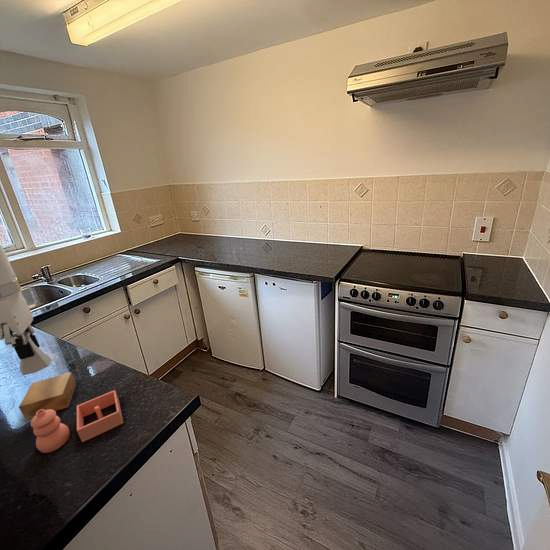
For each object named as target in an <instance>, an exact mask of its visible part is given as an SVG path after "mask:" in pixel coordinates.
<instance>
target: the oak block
mask: <svg viewBox="0 0 550 550" xmlns="http://www.w3.org/2000/svg"><path fill="white" fill-rule="evenodd" d="M76 387H77V381H76V380H75V377H74V374H73V373H72V372H71V371H70V372H67V373H64V374H59V375H56V376H53V377H49V378H45V379H41V380H39V381H35V382H31V384H30V386H29V388H28V390H27V392H26V393H25V395H24V397H23V399H22V400H21V402H20V404H19V405H18V409H19V410H20V412H21V414H22V416H23V418H24V420H25V421H28V420H32V419H33V418H34V416H36V412H37V411H39V410H40V409H44V410H49V409H52V410H54V411H55V412H57V411H60V410H63V409H66V408H69V406H70V404H71V401H72V398H73V396H74V392H75V389H76Z"/></svg>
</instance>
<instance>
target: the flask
mask: <svg viewBox="0 0 550 550" xmlns="http://www.w3.org/2000/svg"><path fill="white" fill-rule="evenodd" d="M24 336H25V338H26V341H27V342H29V343H30V345H31V347H32V349H33V351H34V354H35V355H34V356H32V357H29V358H25V359H19V360H20V362H19V372H20V373H21V375H22V376H25V375H26V376H27V375H31V374H35V373H37V372H40V371H42V370H44V369H46V368H48V367H49V366H50V365H51V364H52V362H53V359H52V358H51V357H50V356H49V355H48V354H47V353H46V352H44V351H43V350H42V349H40V347H39V348H38V347H37V346H36V345H35V344H34V342H33V341H32V340H31V338H30V333H29V332H24ZM17 338H19V339H20V336H19V337H15V338H14V339H17Z"/></svg>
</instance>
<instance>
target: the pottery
mask: <svg viewBox="0 0 550 550" xmlns="http://www.w3.org/2000/svg"><path fill="white" fill-rule="evenodd" d="M113 405H115V408H116V411H114V412H113V413H111V414H107V415H106V416H104V415H103V413H102V410H103V409H105V408H108V407H110V406H113ZM94 413H95V414H96V416H97V420H94V421H92V422H90V423H88V424H86V425H84V423H85V422H84V420H85V419H84V417H87V416H90V415H91V414H94ZM122 424H124V419H123V414H122V409H121V403H120V400H119V397H118V395H117V391H116V389H113V390H111V391H109V392H107V393H104V394H102V395H100V396H96V397H95V398H92V399H90V400H87V401H85V402H83V403H80V404H78V405H76V433H77V434H78V436H79V439H80V441H81V443H84V442H86V441H88V440H90V439H92V438H95V437H97V436H99V435H101V434H103V433H106V432H108V431H110V430H112V429H114V428H116V427H118V426H121V425H122ZM30 427H31V428H32V429H33V430H32V432H33V435H34V436H35V437H36V439H35V446H36V447H35V448H36V449H37V451H39V452H40V453H42V454H48V453H52V452H54V451H56V450H58V449H60V448H61V447H62V446H63V445H65V444H66V442H67V441H69V438H70V434H71V433H70V429H69V427H68V426H67V424H65V423H61V418H60V416H58V415H57V411H54V410H52V409H49V410H44V409H40V410H39V411H37V412H36V416H34V418H31V419H30Z"/></svg>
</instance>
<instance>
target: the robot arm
mask: <svg viewBox="0 0 550 550" xmlns="http://www.w3.org/2000/svg"><path fill="white" fill-rule="evenodd" d="M14 271H15V270H14V269H13V267H12V265H11V262H10V260H9V258H8V255H7V254H6V251H5V249H4V247H3V245H2V243H1V242H0V341H2V340H4V343H5V345H6V346H11V347H12V348H13V349H14V351H15V353H16V355H17V357H18V359H19V360H20V359H25V358H29V357H32V356H34V355H35V354H34V351H33V349H32V347H31V345H30V343H29V342H27V341H26V338H25V336H24V332H29V333H30V338H31V340H32V341H33V342H34V344H35V345H36V346H37V347H38V348H39V349H40V343H39V340H38V339H37V337H36V335H35V331H34V330H35V329H34V328H33V324H32V322H33V321H34V315H33V313H32V310H31V308H30V306H29V304H28V302H27V300H26V299H25V296H24V294H23V293H22V292H23V289H22V287H21V285H20V283H19V280H18V278H17V275H16V274H15V272H14ZM19 336H20V339H19V338H17V339H15V337H19Z"/></svg>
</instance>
